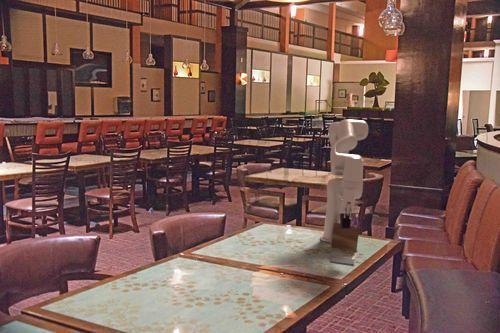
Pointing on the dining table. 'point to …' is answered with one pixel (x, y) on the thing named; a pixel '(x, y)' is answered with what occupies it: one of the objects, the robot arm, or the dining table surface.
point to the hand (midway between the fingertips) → (346, 225)
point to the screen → (344, 238)
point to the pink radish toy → (351, 220)
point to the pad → (342, 260)
